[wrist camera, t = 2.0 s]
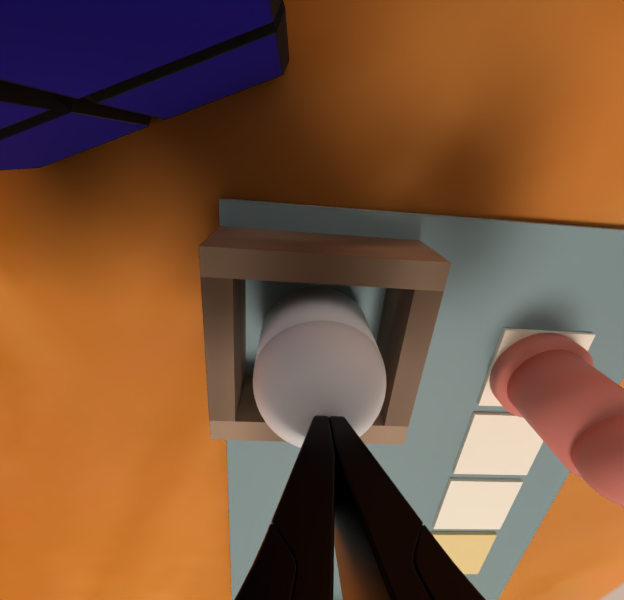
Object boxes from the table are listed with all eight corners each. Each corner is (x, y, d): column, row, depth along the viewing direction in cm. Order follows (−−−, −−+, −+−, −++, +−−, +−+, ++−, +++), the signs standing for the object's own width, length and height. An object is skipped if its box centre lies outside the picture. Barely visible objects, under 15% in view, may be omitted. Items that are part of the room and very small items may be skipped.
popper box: (419, 240, 13) (451, 262, 11) (386, 396, 17) (403, 444, 14) (219, 226, 13) (198, 246, 10) (225, 390, 16) (210, 439, 13)
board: (692, 234, 14) (708, 237, 14) (494, 593, 26) (499, 602, 25) (221, 198, 13) (217, 200, 12) (232, 595, 24) (231, 605, 24)
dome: (375, 290, 13) (419, 365, 8) (360, 381, 15) (388, 484, 10) (262, 283, 13) (242, 358, 8) (260, 377, 14) (243, 482, 10)
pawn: (595, 334, 15) (787, 452, 9) (559, 408, 17) (700, 546, 11) (505, 330, 15) (644, 448, 9) (478, 405, 17) (578, 546, 11)
